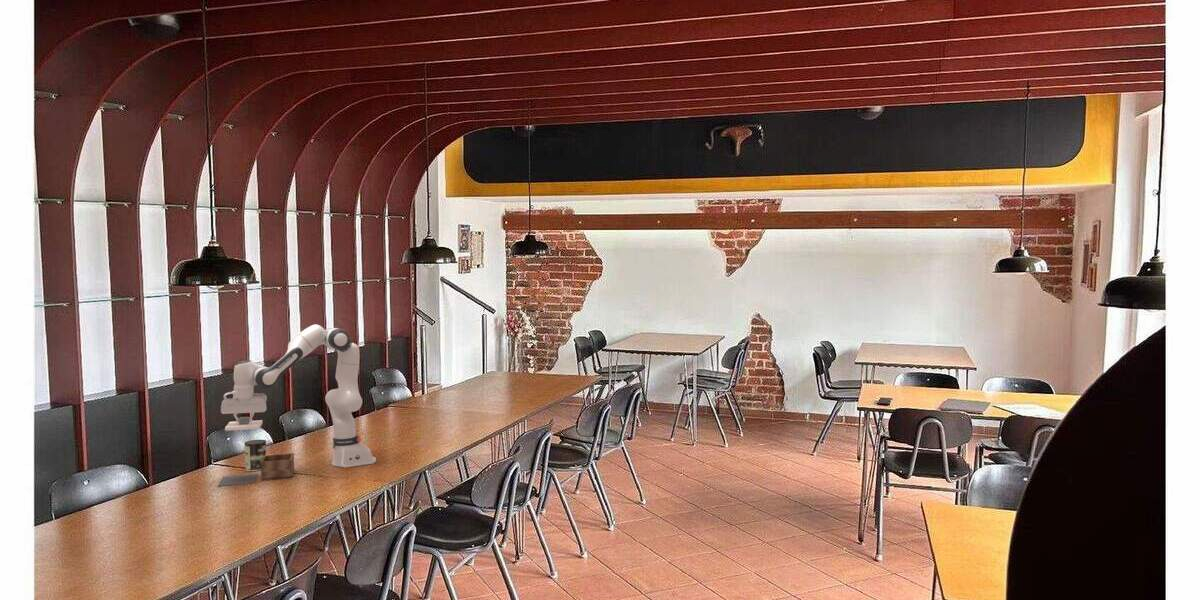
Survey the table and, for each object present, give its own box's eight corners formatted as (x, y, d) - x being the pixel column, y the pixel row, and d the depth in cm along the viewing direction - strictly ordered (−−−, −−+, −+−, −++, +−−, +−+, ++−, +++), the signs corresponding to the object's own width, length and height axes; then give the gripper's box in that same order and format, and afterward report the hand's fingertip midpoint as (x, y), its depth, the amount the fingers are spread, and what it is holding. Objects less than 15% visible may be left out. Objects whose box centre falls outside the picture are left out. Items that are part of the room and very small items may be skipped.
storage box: (294, 470, 394) (293, 453, 394) (292, 477, 381) (291, 459, 380) (264, 473, 390) (263, 455, 389) (261, 480, 377) (260, 462, 376)
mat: (257, 474, 388) (257, 473, 388) (254, 483, 373) (254, 482, 373) (222, 477, 383) (222, 476, 383) (217, 486, 368) (217, 485, 368)
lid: (262, 423, 387) (262, 414, 387) (259, 428, 373) (259, 419, 373) (229, 424, 383) (229, 415, 383) (225, 430, 369) (224, 421, 368)
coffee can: (271, 466, 403) (270, 439, 402) (258, 471, 393) (257, 444, 392) (253, 465, 405) (252, 439, 404) (241, 470, 395) (239, 443, 394)
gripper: (267, 392, 384) (267, 419, 384) (222, 393, 377) (222, 421, 378) (266, 393, 378) (266, 422, 378) (220, 395, 371) (220, 424, 372)
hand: (244, 421), depth 378 cm, fingers closed on lid, 4 cm apart
